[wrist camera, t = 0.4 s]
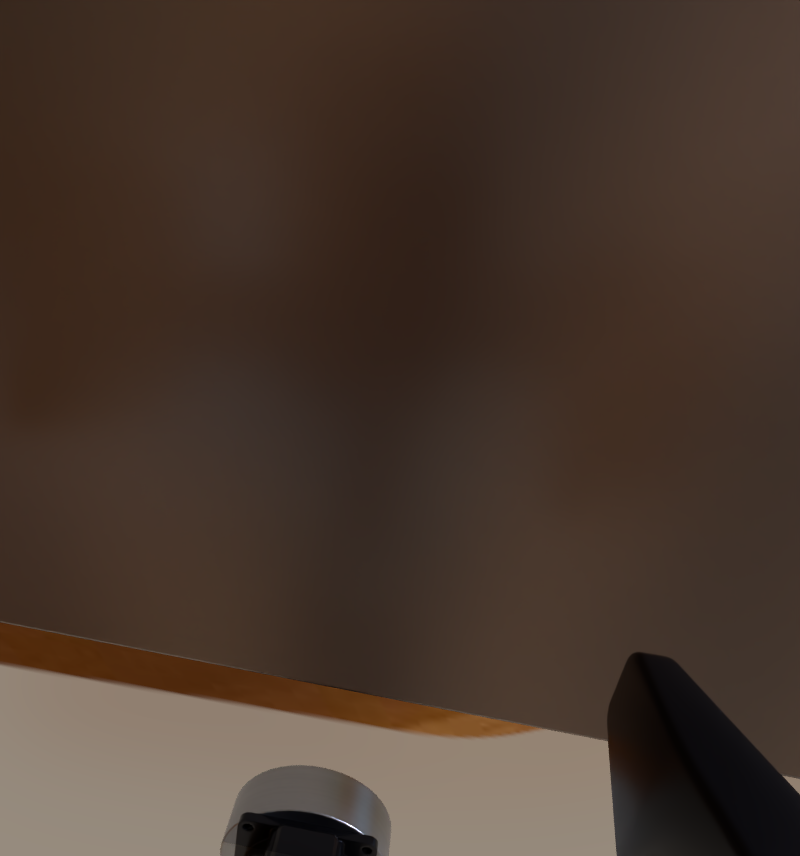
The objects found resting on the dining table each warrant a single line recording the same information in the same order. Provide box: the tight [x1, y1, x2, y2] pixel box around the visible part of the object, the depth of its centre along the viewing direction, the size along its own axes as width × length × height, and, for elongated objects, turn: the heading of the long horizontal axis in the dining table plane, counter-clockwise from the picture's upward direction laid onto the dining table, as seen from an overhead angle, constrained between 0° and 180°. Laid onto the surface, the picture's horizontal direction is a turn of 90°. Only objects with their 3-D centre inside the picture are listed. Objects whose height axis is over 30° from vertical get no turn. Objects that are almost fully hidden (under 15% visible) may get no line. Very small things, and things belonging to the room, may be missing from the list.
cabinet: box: [0, 0, 800, 779], centre depth 12 cm, size 15×13×10 cm
